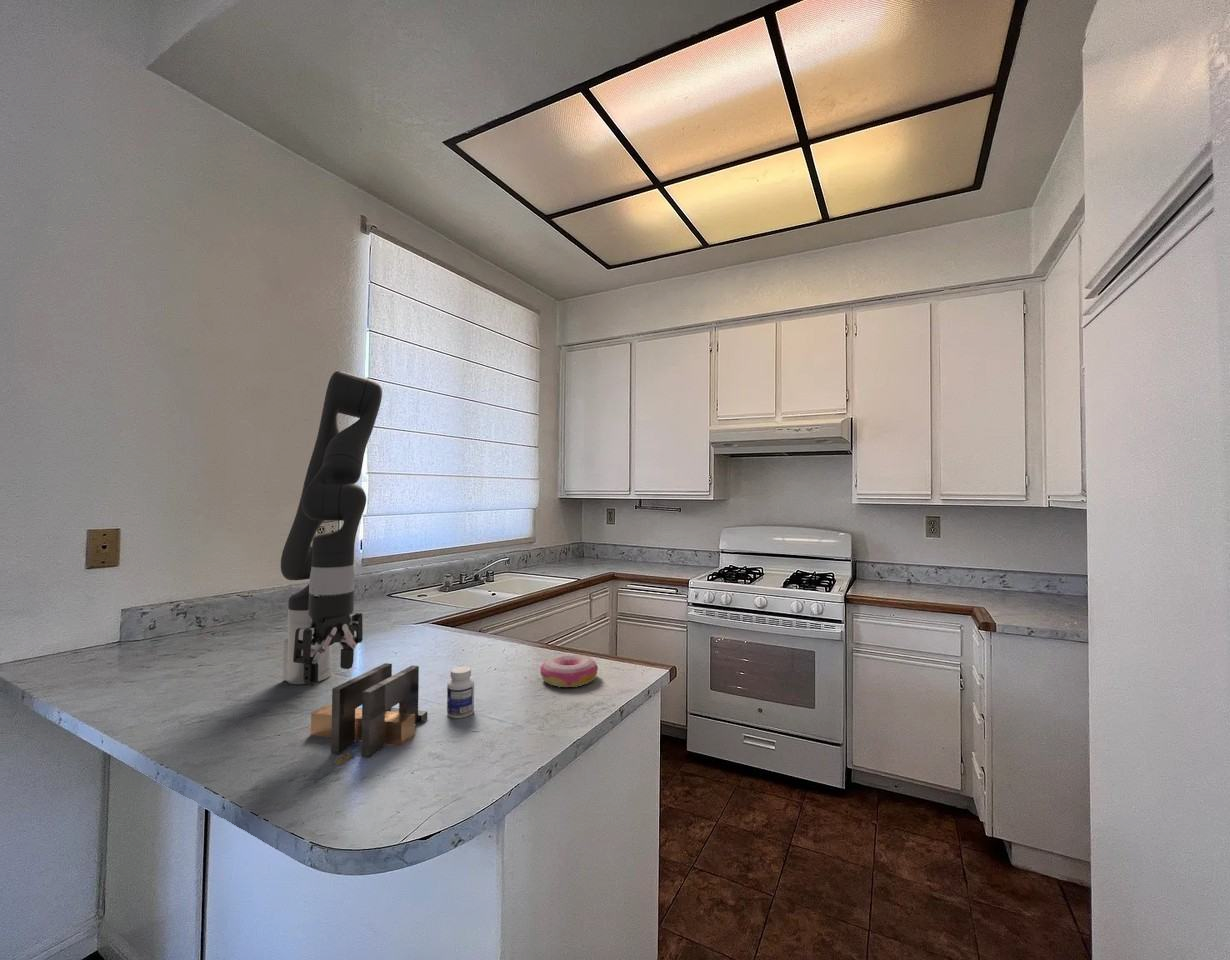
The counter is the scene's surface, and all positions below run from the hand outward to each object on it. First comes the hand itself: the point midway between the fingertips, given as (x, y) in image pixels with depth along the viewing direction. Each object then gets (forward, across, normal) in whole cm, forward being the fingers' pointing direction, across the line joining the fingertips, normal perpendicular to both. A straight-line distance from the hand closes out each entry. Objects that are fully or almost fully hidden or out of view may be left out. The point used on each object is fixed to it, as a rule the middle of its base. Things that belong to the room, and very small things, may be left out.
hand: (329, 675), depth 98 cm
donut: (+10, -37, +35) cm, 52 cm away
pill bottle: (+10, -14, +20) cm, 26 cm away
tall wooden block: (+10, -1, +7) cm, 13 cm away
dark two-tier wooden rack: (+10, 0, +10) cm, 15 cm away
